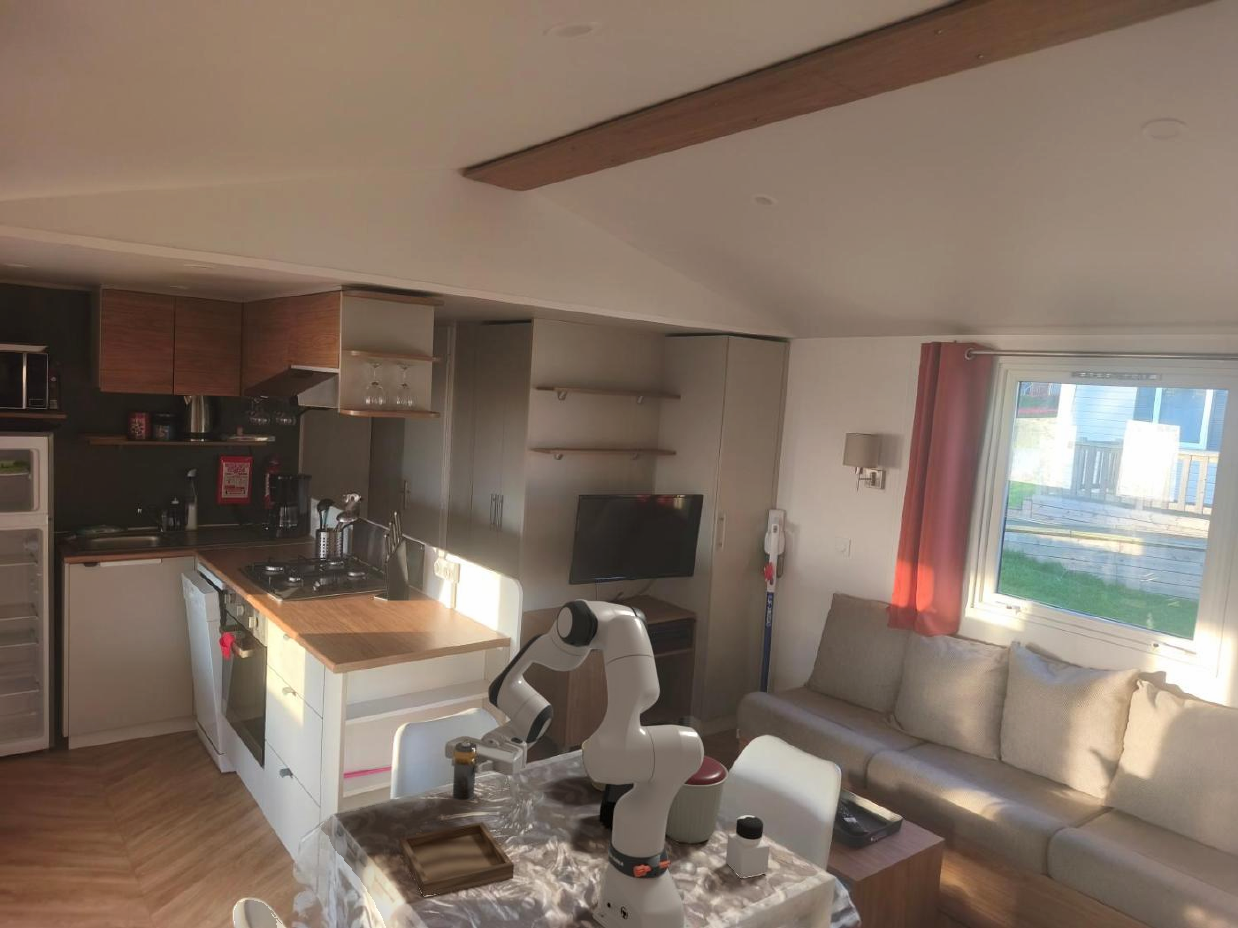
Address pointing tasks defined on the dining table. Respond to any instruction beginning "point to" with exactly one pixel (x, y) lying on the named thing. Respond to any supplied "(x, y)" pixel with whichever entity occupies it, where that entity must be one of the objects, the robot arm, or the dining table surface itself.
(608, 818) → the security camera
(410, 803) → the dining table surface
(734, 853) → the medicine bottle
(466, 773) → the cell
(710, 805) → the canister
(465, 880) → the tray
